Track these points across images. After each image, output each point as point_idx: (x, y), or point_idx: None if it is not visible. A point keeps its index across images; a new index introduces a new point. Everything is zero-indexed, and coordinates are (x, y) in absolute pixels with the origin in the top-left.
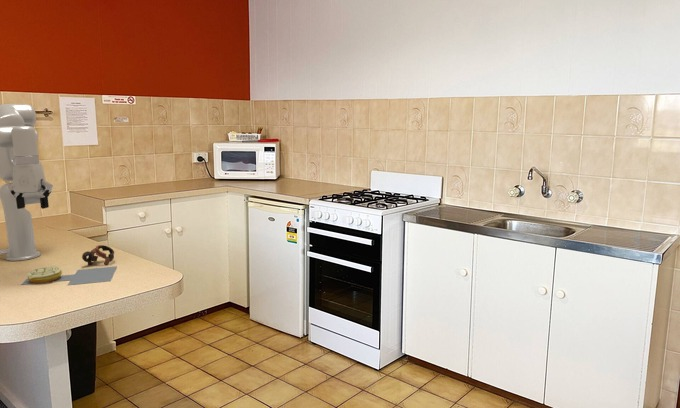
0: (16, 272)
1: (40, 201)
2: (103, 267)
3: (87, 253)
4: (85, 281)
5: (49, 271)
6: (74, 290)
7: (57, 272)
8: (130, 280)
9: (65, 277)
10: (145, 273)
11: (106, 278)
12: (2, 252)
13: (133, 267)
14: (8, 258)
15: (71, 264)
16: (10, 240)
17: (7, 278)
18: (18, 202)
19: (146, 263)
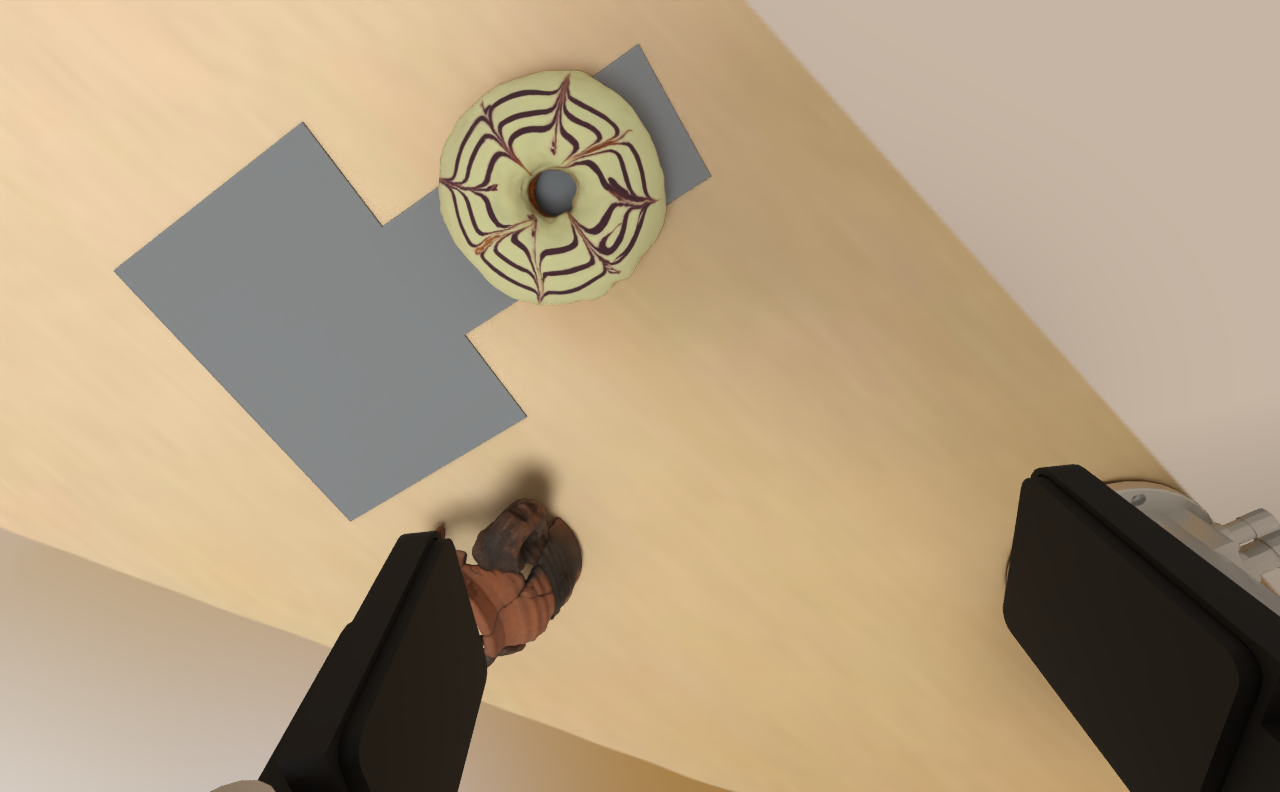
0: (905, 287)
1: (373, 651)
2: (408, 486)
3: (494, 532)
4: (256, 221)
5: (475, 173)
6: (150, 33)
7: (441, 205)
8: (13, 312)
9: (464, 263)
10: (65, 446)
11: (185, 307)
12: (1249, 522)
13: (242, 525)
14: (1160, 488)
15: (666, 501)
16: (1249, 589)
17: (865, 155)
18: (1130, 567)
19: (240, 597)
